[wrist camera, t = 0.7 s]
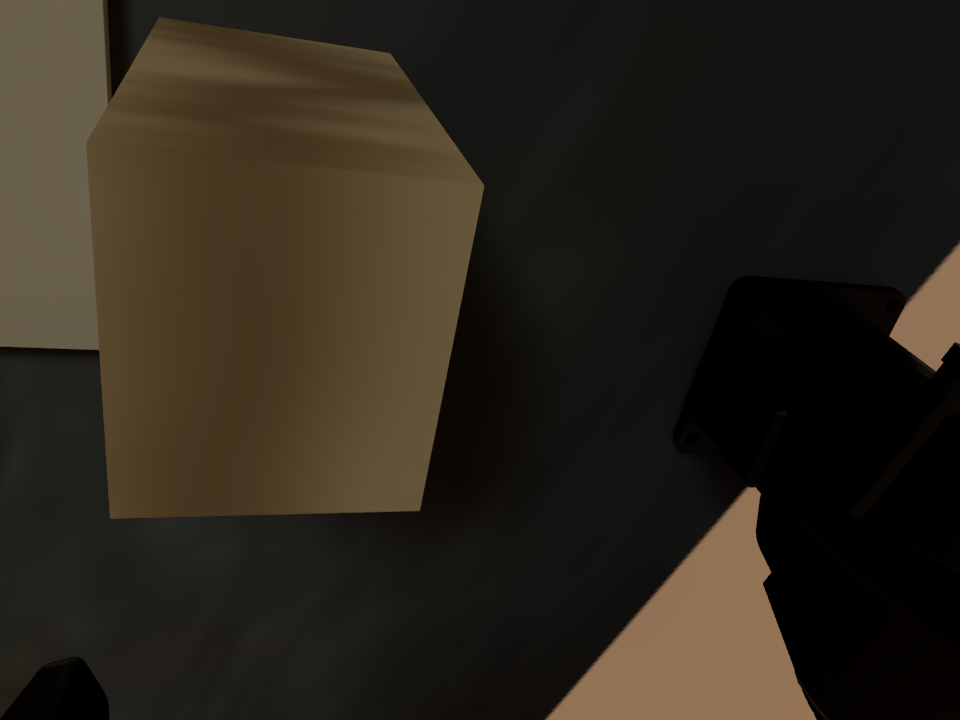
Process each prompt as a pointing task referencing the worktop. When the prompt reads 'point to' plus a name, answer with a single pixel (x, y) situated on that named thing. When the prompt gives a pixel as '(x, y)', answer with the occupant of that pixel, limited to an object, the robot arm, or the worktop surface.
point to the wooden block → (273, 276)
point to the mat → (49, 168)
